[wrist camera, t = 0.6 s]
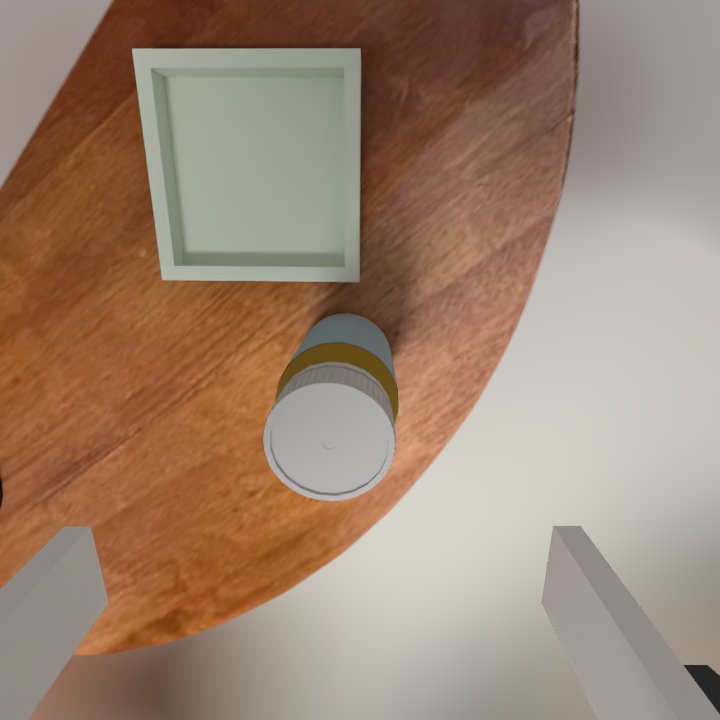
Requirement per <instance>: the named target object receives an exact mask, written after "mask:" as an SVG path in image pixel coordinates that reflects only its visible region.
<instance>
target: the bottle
mask: <svg viewBox="0 0 720 720" xmlns="http://www.w3.org/2000/svg"><path fill="white" fill-rule="evenodd" d="M397 414H398V390H397V384H396V378H395V372H394V367H393V361H392V355H391V350H390V346H389V343H388V341H387V338H386V336H385V334H384V332H383V331H382V330H381V329H380V328H379V327H378V325H377V324H376V323H374V322H373V321H371V320H370V319H368V318H366V317H365V316H362V315H358V314H354V313H336V314H333V315H330V316H328V317H325V318H323V319H322V320H320V321H319V322H318V323H317V324H316V325H314V326H313V327H312V328H311V330H310V331H309V332H308V334H307V335H306V337H305V339H304V340H303V342H302V343H301V345H300V347H299V348H298V350H297V351H296V353H295V355H294V356H293V358H292V359H291V361H290V363H289V364H288V366H287V368H286V369H285V371H284V373H283V374H282V376H281V379H280V381H279V383H278V387H277V393H276V402H275V404H274V405H273V407H272V409H271V411H270V413H269V415H268V417H267V420H266V423H265V425H266V426H265V428H264V435H263V437H264V450H265V454H266V457H267V460H268V462H269V465H270V466H271V468H272V470H273V471H274V473H275V474H276V475H277V477H278V478H279V479H280V480H281V481H282V482H283V483H284V484H285V485H287V486H288V487H289V488H291V489H292V490H294V491H295V492H297V493H299V494H301V495H304V496H306V497H309V498H313V499H317V500H323V501H340V500H346V499H350V498H354V497H356V496H359V495H361V494H363V493H365V492H367V491H368V490H370V489H371V488H373V487H374V486H375V485H376V484H377V483H378V482H379V481H380V480H381V479H382V478H383V477H384V476H385V474H386V473H387V471H388V469H389V467H390V465H391V463H392V461H393V457H394V455H395V453H394V450H395V449H396V445H395V444H396V433H395V426H394V424H395V421H396V417H397Z"/></svg>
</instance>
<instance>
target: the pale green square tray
mask: <svg viewBox="0 0 720 720" xmlns="http://www.w3.org/2000/svg"><path fill="white" fill-rule="evenodd" d="M132 53H133V61H134V68H135V76H136V83H137V91H138V99H139V106H140V114H141V122H142V129H143V137H144V145H145V152H146V160H147V168H148V175H149V183H150V191H151V198H152V206H153V214H154V221H155V229H156V237H157V244H158V252H159V260H160V267H161V275H162V280H196V281H293V282H359V280H360V178H361V49H360V48H276V49H132Z"/></svg>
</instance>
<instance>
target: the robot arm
mask: <svg viewBox="0 0 720 720" xmlns="http://www.w3.org/2000/svg"><path fill="white" fill-rule="evenodd" d="M0 499H1V492H0ZM108 603H109V602H108V598H107V594H106V589H105V585H104V581H103V577H102V573H101V568H100V564H99V560H98V556H97V552H96V547H95V543H94V539H93V535H92V531H91V527H63V528H62V529H61V530H60V531H59V532H58V533H57V534H56V535H55V536H54V537H53V538H52V539H51V540H50V541H49V542H48V543H47V544H46V545H45V546H44V547H43V548H42V549H41V550H40V551H39V552H38V553H37V554H36V555H35V556H34V557H33V558H32V559H31V560H30V561H29V562H28V563H26V564H25V565H24V566H23V567H22V568H21V569H20V570H19V571H18V572H17V573H16V574H15V575H14V576H13V577H12V578H11V579H10V580H9V581H8V582H7V583H6V584H5V585H4V586H3V587H2V588H1V589H0V720H28V719H29V717H30V716H31V714H32V713H33V711H34V710H35V708H36V707H37V706H38V704H39V703H40V701H41V700H42V698H43V697H44V695H45V694H46V692H47V691H48V690H49V688H50V687H51V685H52V684H53V682H54V681H55V680H56V678H57V676H58V675H59V674H60V672H61V671H62V669H63V668H64V667H65V665H66V663H67V662H68V661H69V659H70V658H71V656H72V655H73V653H74V652H75V651H76V649H77V648H78V646H79V645H80V643H81V642H82V640H83V639H84V638H85V636H86V635H87V633H88V632H89V630H90V629H91V627H92V626H93V625H94V623H95V622H96V620H97V619H98V617H99V616H100V614H101V613H102V612H103V610H104V609H105V607H106V606H107V604H108ZM542 605H543V607H544V609H545V611H546V613H547V615H548V618H549V620H550V621H551V624H552V626H553V628H554V630H555V632H556V634H557V636H558V638H559V640H560V643H561V645H562V647H563V649H564V651H565V653H566V655H567V657H568V659H569V661H570V663H571V665H572V668H573V669H574V672H575V673H576V676H577V678H578V680H579V682H580V684H581V686H582V688H583V690H584V693H585V694H586V697H587V699H588V701H589V703H590V705H591V707H592V709H593V711H594V713H595V715H596V717H597V720H720V676H719V675H718V674H717V673H716V672H715V671H713V670H712V669H711V668H710V667H709V666H708V665H683V664H682V663H681V661H680V660H679V659H678V657H677V656H676V655H675V653H674V652H673V650H672V649H671V648H670V647H669V645H668V644H667V642H666V641H665V640H664V638H663V637H662V636H661V634H660V633H659V632H658V630H657V629H656V628H655V626H654V625H653V624H652V622H651V621H650V620H649V618H648V617H647V615H646V614H645V613H644V611H643V610H642V609H641V607H640V606H639V605H638V603H637V602H636V600H635V599H634V598H633V596H632V595H631V594H630V592H629V591H628V590H627V588H626V587H625V586H624V584H623V583H622V582H621V580H620V579H619V577H618V576H617V575H616V574H615V572H614V571H613V569H612V568H611V567H610V565H609V564H608V563H607V561H606V560H605V559H604V557H603V556H602V554H601V553H600V552H599V550H598V549H597V548H596V546H595V545H594V544H593V542H592V541H591V540H590V538H589V537H588V536H587V534H586V533H585V531H584V530H583V529H582V527H581V526H553V531H552V538H551V544H550V551H549V557H548V563H547V570H546V577H545V583H544V590H543V596H542Z"/></svg>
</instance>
